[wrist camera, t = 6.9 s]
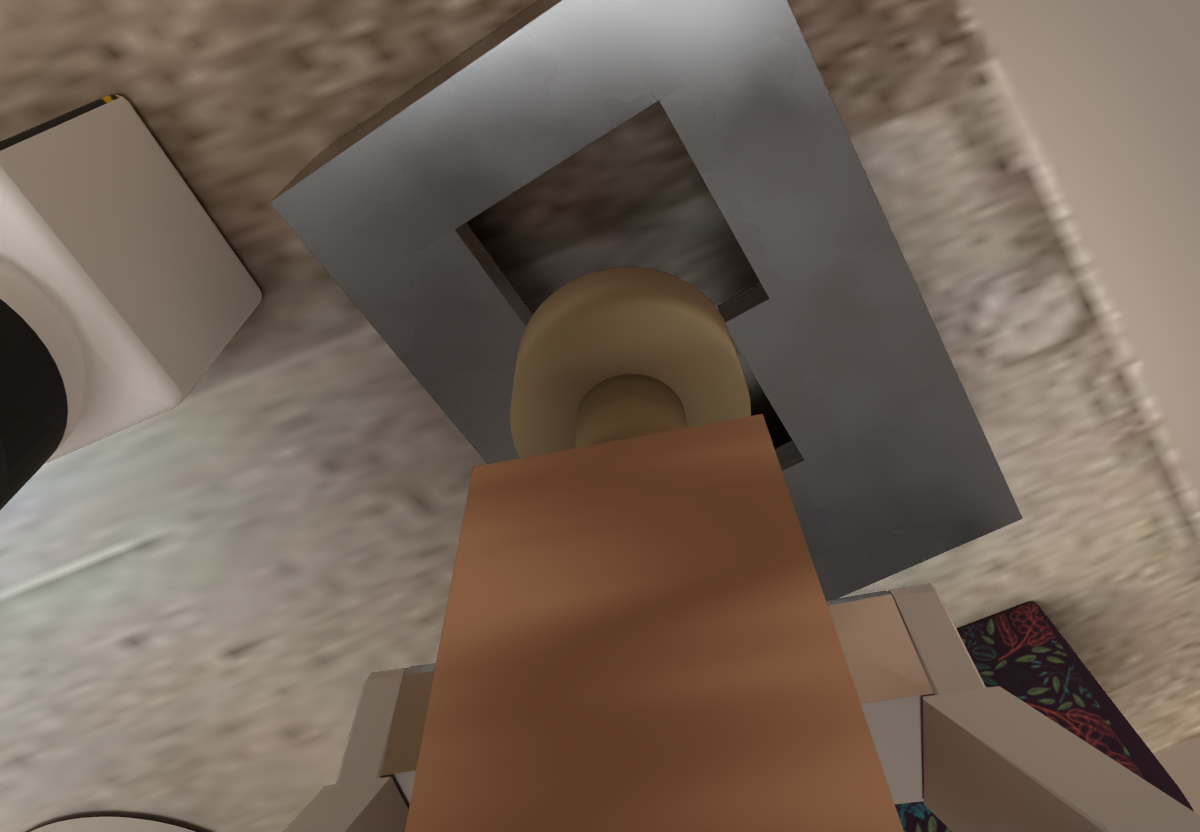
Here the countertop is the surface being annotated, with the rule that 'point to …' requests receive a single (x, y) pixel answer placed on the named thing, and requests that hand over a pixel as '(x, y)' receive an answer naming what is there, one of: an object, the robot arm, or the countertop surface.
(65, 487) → the countertop surface
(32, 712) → the countertop surface
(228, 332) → the medicine bottle
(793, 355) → the keyhole plate
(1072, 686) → the decorative box
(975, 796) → the robot arm
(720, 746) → the slider
